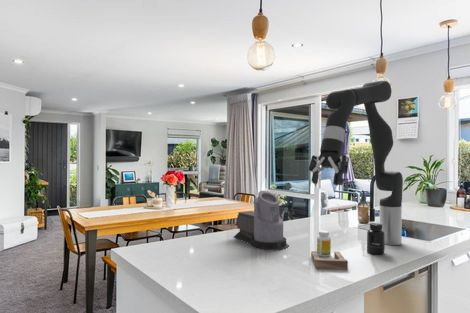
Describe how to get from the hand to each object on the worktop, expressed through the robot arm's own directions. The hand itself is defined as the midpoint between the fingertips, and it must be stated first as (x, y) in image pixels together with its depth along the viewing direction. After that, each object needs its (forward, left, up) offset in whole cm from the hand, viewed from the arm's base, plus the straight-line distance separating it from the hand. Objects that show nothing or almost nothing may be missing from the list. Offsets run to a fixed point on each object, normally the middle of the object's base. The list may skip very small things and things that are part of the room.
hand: (324, 184), depth 113 cm
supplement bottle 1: (-19, +3, -31) cm, 36 cm away
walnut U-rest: (-9, +3, -30) cm, 32 cm away
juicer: (-36, -23, -31) cm, 53 cm away
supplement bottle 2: (-24, +25, -31) cm, 46 cm away
